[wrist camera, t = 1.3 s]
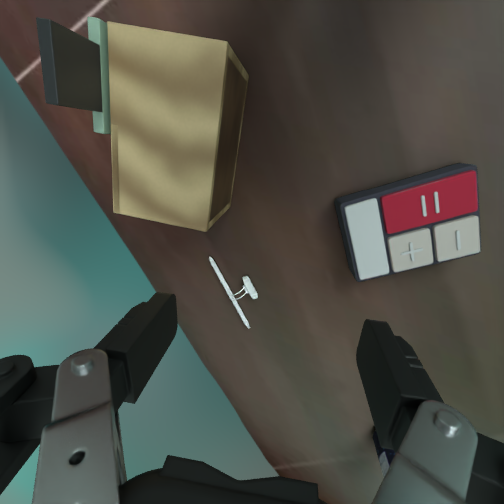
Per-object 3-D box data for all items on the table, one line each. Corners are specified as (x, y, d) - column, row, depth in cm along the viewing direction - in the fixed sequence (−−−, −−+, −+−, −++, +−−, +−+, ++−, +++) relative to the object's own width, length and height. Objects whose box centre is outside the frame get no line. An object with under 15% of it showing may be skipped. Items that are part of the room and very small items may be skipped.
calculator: (486, 255, 32) (358, 285, 35) (463, 243, 36) (349, 271, 39) (482, 163, 29) (340, 205, 32) (457, 161, 33) (333, 198, 36)
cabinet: (151, 58, 32) (83, 17, 22) (249, 75, 32) (227, 41, 21) (149, 190, 39) (95, 208, 28) (230, 207, 38) (206, 232, 27)
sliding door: (152, 56, 32) (31, -19, 17) (160, 58, 31) (46, -16, 17) (150, 135, 35) (48, 129, 20) (158, 136, 35) (60, 131, 20)
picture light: (208, 256, 41) (203, 261, 39) (232, 246, 40) (229, 251, 38) (247, 327, 45) (245, 335, 43) (271, 320, 44) (270, 328, 42)
